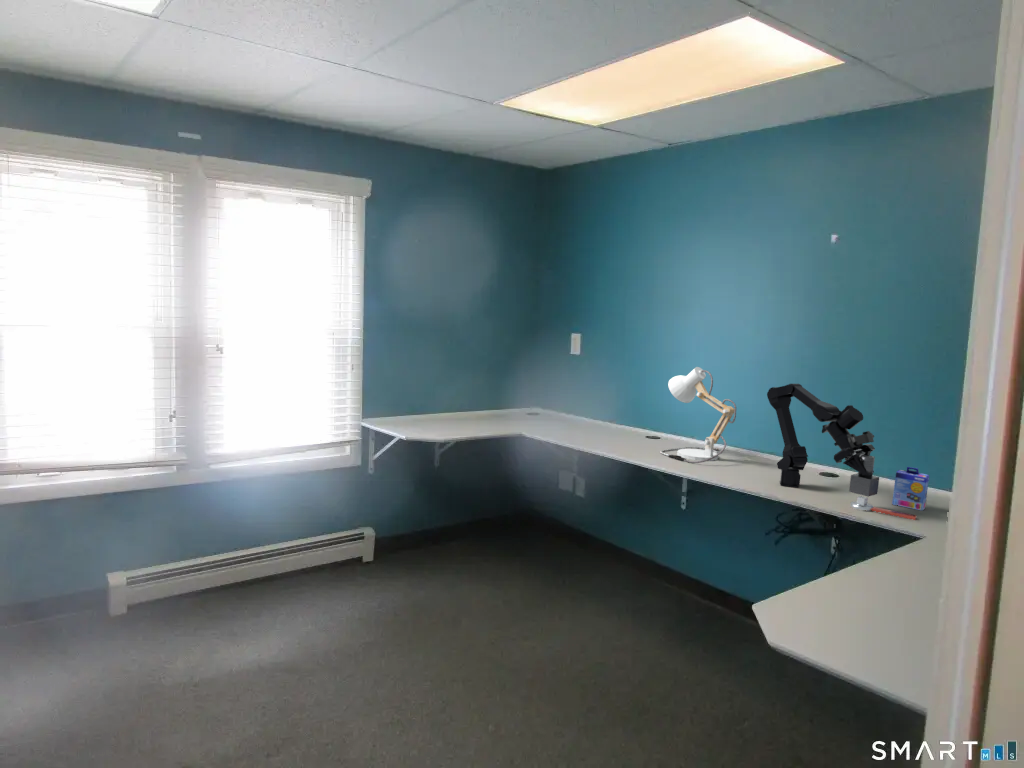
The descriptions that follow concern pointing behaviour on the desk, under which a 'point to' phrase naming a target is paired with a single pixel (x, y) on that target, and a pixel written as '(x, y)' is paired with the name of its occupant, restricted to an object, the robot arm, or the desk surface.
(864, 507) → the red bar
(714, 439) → the desk lamp
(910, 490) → the ink cartridge box
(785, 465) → the robot arm
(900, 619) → the desk surface
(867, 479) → the grey cylinder on block
